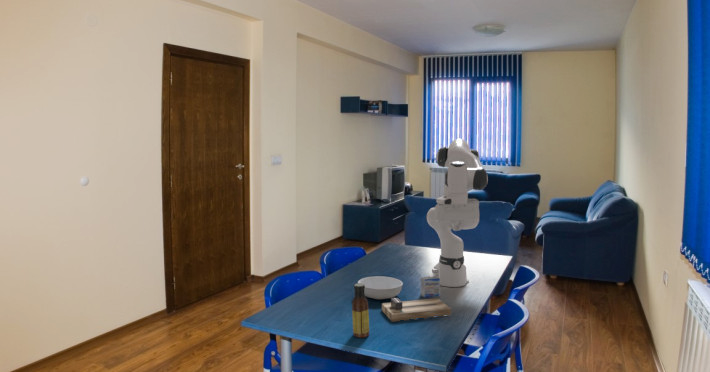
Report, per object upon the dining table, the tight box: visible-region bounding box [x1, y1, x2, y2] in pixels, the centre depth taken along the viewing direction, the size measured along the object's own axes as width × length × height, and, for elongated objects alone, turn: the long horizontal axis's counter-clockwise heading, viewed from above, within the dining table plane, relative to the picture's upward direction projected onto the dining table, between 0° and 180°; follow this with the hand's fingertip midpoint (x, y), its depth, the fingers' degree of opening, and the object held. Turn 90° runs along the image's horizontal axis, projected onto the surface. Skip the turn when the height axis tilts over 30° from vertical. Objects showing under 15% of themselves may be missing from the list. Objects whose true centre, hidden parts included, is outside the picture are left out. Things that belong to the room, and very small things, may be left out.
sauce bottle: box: [351, 282, 370, 338], centre depth 196 cm, size 7×6×20 cm
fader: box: [390, 297, 402, 310], centre depth 218 cm, size 6×3×3 cm, turn 15°
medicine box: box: [420, 276, 441, 298], centre depth 243 cm, size 8×4×9 cm, turn 105°
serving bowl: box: [357, 275, 404, 300], centre depth 242 cm, size 21×21×7 cm
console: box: [381, 298, 452, 323], centre depth 220 cm, size 14×26×3 cm, turn 105°
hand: (456, 230), depth 227 cm, fingers closed
